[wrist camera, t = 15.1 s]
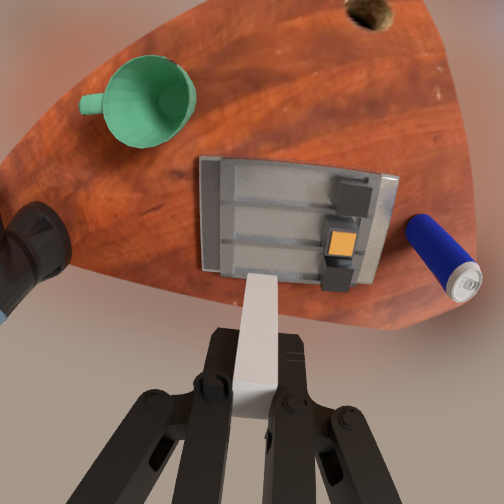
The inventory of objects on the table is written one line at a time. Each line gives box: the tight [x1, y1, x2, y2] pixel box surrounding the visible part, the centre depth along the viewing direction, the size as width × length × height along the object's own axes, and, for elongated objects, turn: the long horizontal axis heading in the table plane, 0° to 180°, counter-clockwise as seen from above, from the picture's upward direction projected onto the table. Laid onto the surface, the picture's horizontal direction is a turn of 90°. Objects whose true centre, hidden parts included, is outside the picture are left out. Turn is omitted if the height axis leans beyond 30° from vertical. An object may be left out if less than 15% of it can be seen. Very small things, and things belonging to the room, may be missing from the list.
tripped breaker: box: [321, 215, 360, 258], centre depth 35 cm, size 4×4×4 cm
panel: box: [199, 154, 400, 292], centre depth 37 cm, size 26×17×6 cm, turn 87°
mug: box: [78, 55, 196, 149], centre depth 28 cm, size 15×10×10 cm
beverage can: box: [406, 214, 482, 302], centre depth 31 cm, size 5×5×15 cm
